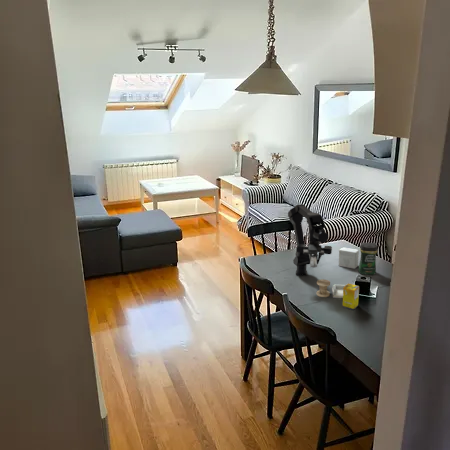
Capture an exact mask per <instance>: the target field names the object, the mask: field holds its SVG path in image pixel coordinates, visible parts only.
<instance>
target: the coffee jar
mask: <svg viewBox="0 0 450 450" xmlns="http://www.w3.org/2000/svg"><path fill="white" fill-rule="evenodd" d="M359 252H360V260H359V263H358V273H360V274H361V275H364V276H365V275H366V276H367V275H370V276H373V275H376V272H377V263H376V262H377V261H376V258H377V257H376V256H377V253H378V245H377V243H376V242H361V244H360V248H359Z"/></svg>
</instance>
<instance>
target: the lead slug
mask: <svg viewBox="0 0 450 450" xmlns="http://www.w3.org/2000/svg"><path fill="white" fill-rule="evenodd" d="M318 255H319V253H317V254H316V255H315V254H310V264H309V267H310V268H312V269H313V268H315V269H316V268H318V264H317V261H318Z"/></svg>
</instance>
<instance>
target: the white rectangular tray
mask: <svg viewBox="0 0 450 450" xmlns="http://www.w3.org/2000/svg"><path fill="white" fill-rule="evenodd" d="M346 285H347V284H336V283H335V284H333V286H332V287H331V290H332V298H336V299H337V298H338V299H341V298H342V299H343V287H345V286H346Z"/></svg>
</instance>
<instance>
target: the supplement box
mask: <svg viewBox="0 0 450 450" xmlns="http://www.w3.org/2000/svg"><path fill="white" fill-rule="evenodd" d="M345 285H346V286H345V287H343V298H342V308H344V309H348V310H352V311H354V310H355V309H357V307H358V306H359V296H360V294H359V293H360V286H359V285H356V284H352V283H349V282H348V283H347V284H345Z"/></svg>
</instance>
